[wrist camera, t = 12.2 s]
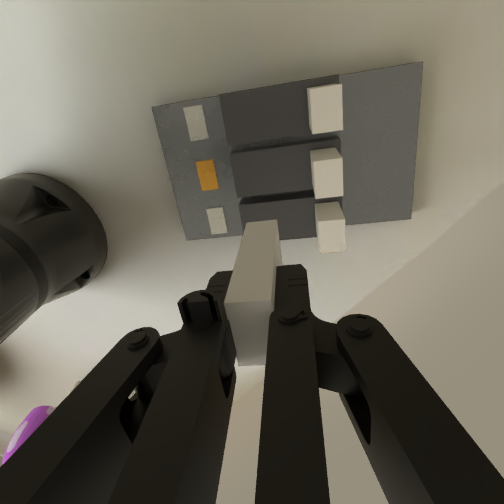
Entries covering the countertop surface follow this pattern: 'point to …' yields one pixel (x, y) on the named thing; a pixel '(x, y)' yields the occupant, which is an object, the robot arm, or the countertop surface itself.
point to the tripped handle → (327, 172)
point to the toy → (29, 426)
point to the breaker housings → (286, 156)
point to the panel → (352, 140)
